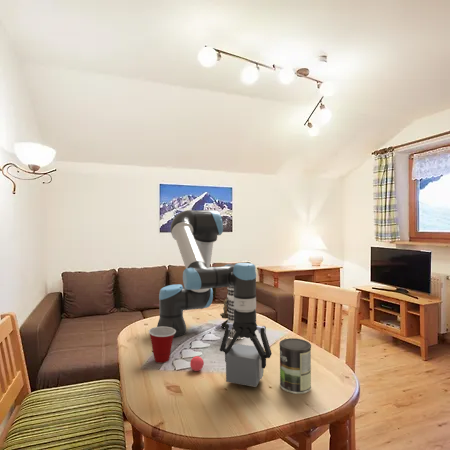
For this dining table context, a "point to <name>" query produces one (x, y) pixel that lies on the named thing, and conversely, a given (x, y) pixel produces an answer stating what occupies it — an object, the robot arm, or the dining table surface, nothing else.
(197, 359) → the ball
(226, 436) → the dining table surface
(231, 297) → the decorative candle
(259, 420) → the dining table surface
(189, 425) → the dining table surface
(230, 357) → the grey cube
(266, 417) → the dining table surface
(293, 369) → the coffee can
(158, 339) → the plastic cup
